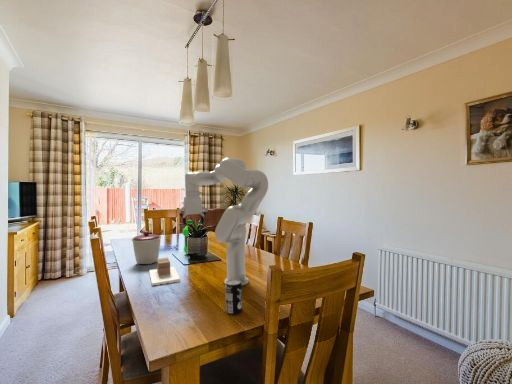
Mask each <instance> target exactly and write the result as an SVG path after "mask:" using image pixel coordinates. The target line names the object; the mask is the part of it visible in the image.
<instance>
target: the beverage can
mask: <svg viewBox="0 0 512 384" xmlns="http://www.w3.org/2000/svg"><path fill="white" fill-rule="evenodd" d="M224 288H225V289H224V293H225V296H224V297H225V312H226V313H227V314H228V315H231V316H232V315H234V316H235V315H239V314H240V313H242V311H243V286H242V284H241V281H240V280H237V279H232V280H228V281H227V282H226V284H225V287H224Z"/></svg>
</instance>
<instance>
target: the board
mask: <svg viewBox="0 0 512 384" xmlns="http://www.w3.org/2000/svg"><path fill="white" fill-rule="evenodd" d="M148 272H149V273H150V274H149V277H150V278H151V279H150V278H149V279H150V283H152V284H151V287H154V286H153V285H157V286H161V285H160V284H163V285H167V284H166V283H169V284H174V282H175V283H179V282H180V283H181V277H180V276H179V273H178V272H177V270H176V268H175V266H170V275H164V276H159V275H158V272H157V268H156V269H149V270H148Z"/></svg>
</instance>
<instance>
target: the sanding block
mask: <svg viewBox="0 0 512 384" xmlns="http://www.w3.org/2000/svg"><path fill="white" fill-rule="evenodd" d="M170 267H171V262H170V260H169V257H164V258H158V259H157V262H156V269H157V272H158V275H159V276H164V275H170Z"/></svg>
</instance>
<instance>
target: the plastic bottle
mask: <svg viewBox="0 0 512 384" xmlns="http://www.w3.org/2000/svg"><path fill="white" fill-rule="evenodd" d="M193 221H194V220H193V219H188V220H187V219H186V224H187V225H188V224H192V225H193V223H194V222H193ZM187 225H185V227H184V228H183V229H182V235H183V236H184V247H183V252H184V254H186V255H187V238H188V233H189V231H188V226H187Z"/></svg>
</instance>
